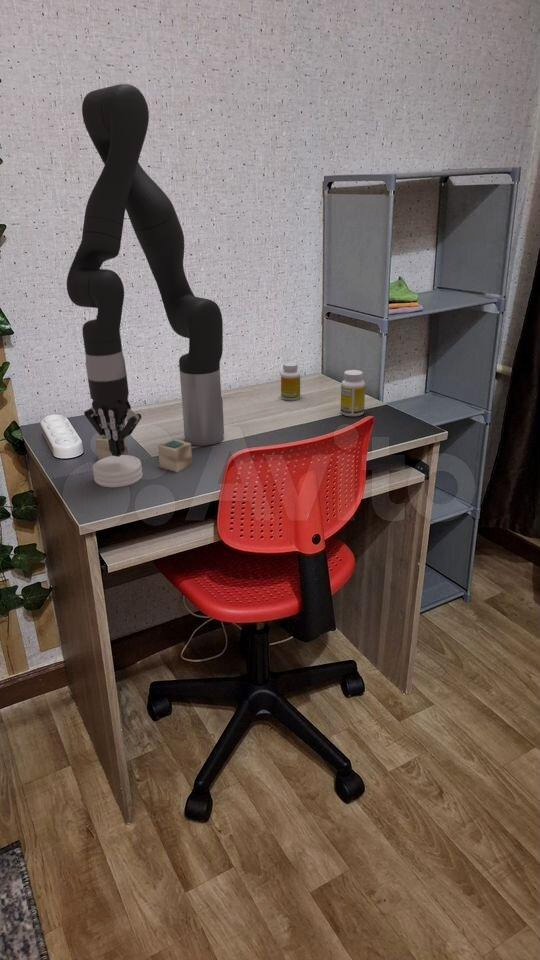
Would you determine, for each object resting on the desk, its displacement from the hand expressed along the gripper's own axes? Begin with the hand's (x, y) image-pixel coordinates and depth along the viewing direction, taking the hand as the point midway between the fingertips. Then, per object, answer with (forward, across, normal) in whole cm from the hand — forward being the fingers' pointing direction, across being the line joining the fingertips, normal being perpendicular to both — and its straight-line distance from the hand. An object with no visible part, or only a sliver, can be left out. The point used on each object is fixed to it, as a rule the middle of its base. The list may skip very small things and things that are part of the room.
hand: (117, 454), depth 140 cm
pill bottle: (+6, -33, -56) cm, 66 cm away
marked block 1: (+5, +8, -9) cm, 13 cm away
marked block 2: (+6, -8, -10) cm, 14 cm away
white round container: (+6, 0, 0) cm, 6 cm away
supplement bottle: (+6, -13, -63) cm, 64 cm away
